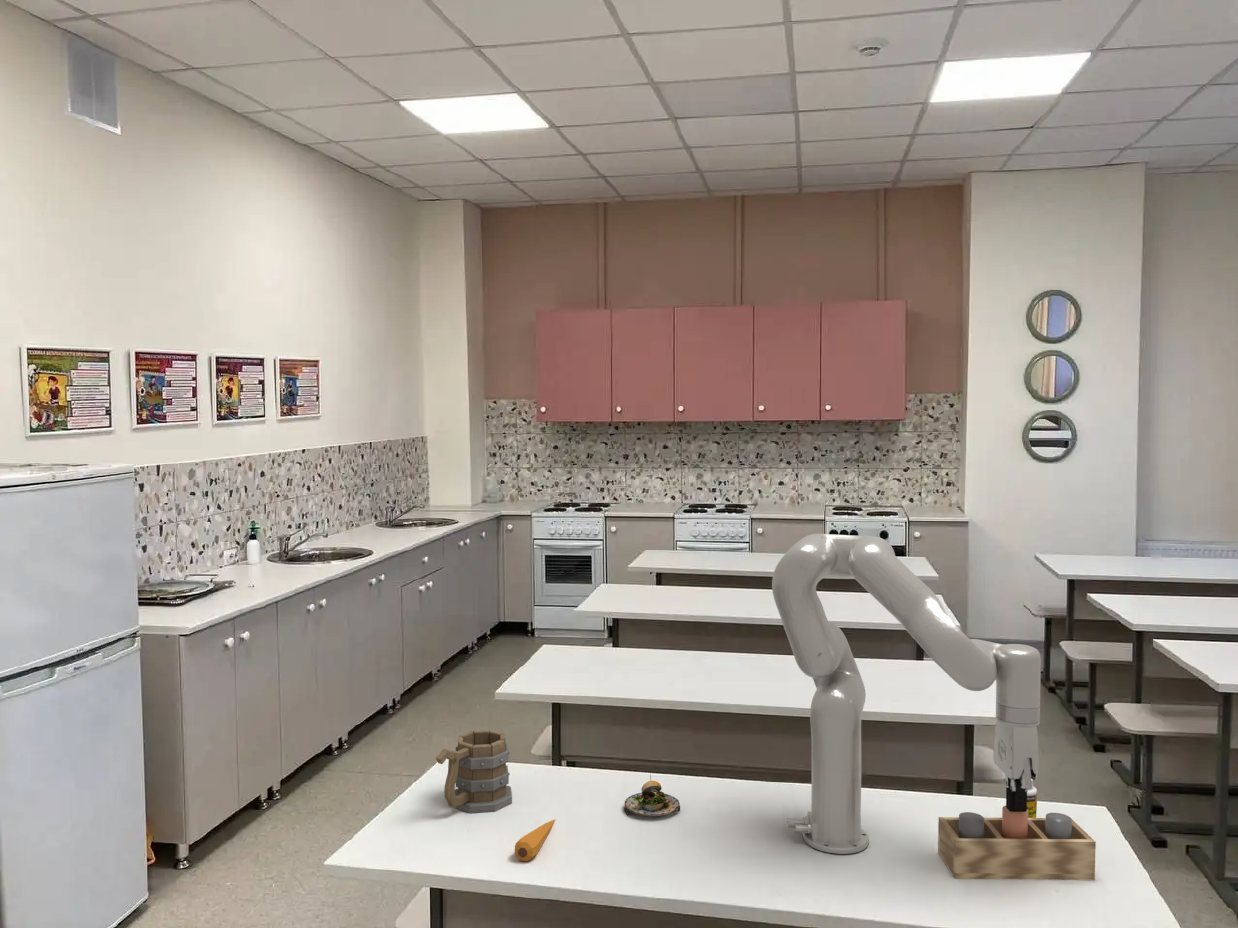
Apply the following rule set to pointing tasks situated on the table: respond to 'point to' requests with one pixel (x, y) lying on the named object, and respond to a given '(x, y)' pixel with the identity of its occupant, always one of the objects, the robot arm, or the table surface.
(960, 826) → the plunger left
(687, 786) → the table surface
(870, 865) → the table surface
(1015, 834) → the pink cylinder
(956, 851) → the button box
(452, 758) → the tankard
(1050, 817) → the plunger right
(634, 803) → the burger
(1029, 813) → the supplement bottle
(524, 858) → the carrot
